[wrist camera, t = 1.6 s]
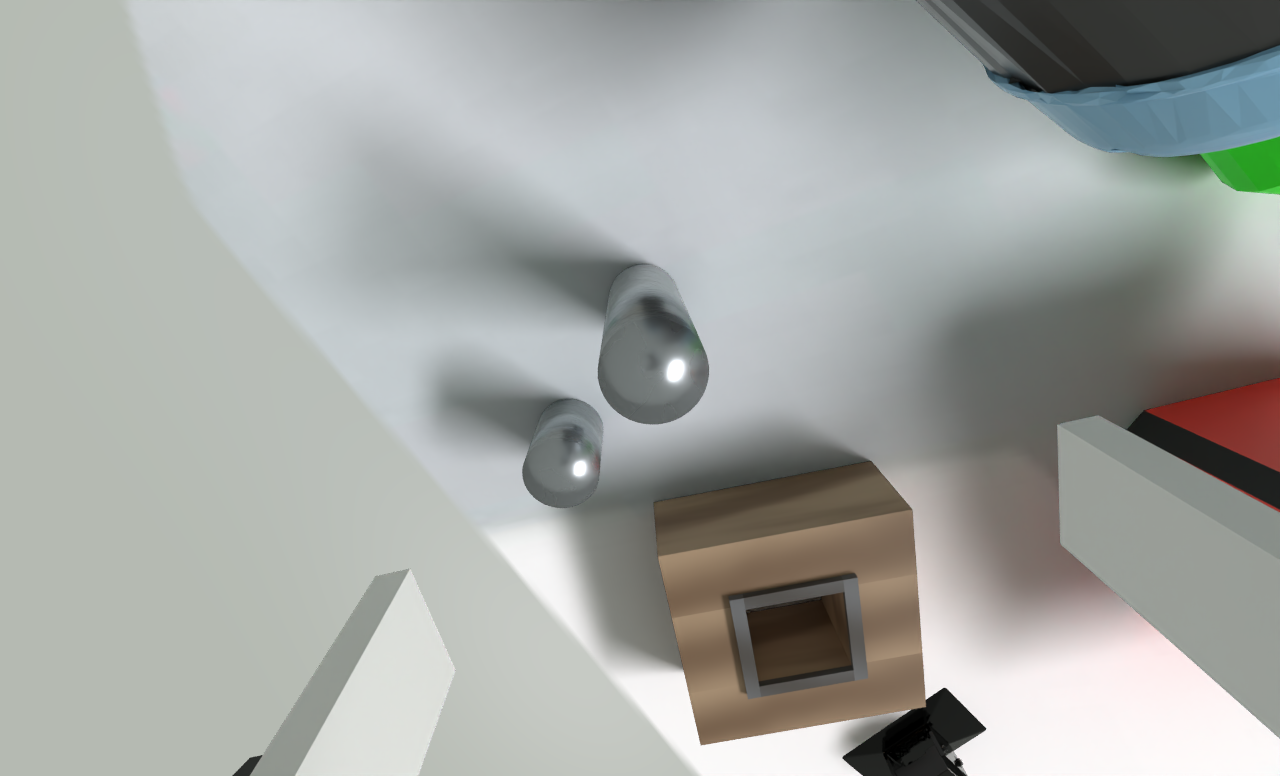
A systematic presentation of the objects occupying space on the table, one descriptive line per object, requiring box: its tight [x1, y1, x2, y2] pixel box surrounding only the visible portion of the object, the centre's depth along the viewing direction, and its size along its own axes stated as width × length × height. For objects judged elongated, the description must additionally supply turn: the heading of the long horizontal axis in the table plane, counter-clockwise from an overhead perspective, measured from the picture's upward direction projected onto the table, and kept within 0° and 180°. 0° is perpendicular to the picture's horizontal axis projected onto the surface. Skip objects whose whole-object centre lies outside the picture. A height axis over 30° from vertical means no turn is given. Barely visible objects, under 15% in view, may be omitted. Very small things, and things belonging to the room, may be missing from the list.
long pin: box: [598, 264, 709, 424], centre depth 29 cm, size 4×4×14 cm
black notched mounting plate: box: [843, 688, 986, 776], centre depth 45 cm, size 12×7×5 cm, turn 134°
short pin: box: [522, 399, 603, 508], centre depth 35 cm, size 4×4×6 cm
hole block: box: [654, 461, 926, 745], centre depth 39 cm, size 14×14×6 cm
